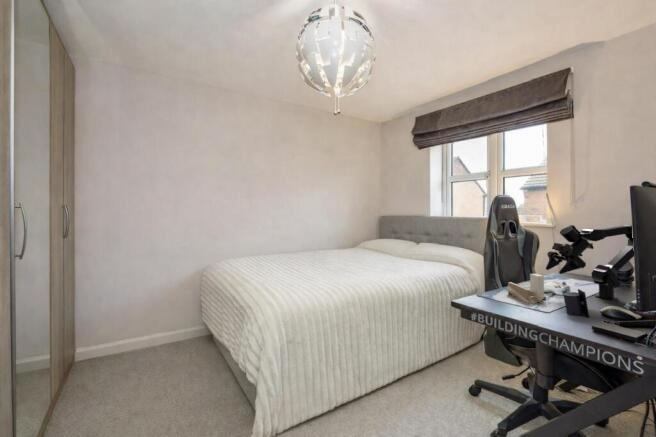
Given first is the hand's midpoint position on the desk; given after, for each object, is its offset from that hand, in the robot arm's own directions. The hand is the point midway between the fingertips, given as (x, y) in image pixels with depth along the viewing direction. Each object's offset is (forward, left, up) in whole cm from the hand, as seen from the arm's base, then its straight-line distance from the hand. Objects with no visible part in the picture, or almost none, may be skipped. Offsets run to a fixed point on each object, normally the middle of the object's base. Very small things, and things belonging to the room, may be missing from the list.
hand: (552, 271), depth 147 cm
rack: (+10, -5, -13) cm, 17 cm away
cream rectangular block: (+7, -3, -13) cm, 15 cm away
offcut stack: (+11, -6, -14) cm, 19 cm away
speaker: (+17, +18, -13) cm, 28 cm away
